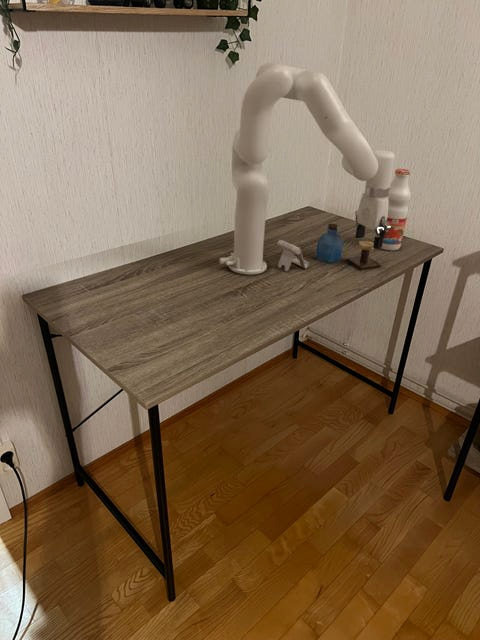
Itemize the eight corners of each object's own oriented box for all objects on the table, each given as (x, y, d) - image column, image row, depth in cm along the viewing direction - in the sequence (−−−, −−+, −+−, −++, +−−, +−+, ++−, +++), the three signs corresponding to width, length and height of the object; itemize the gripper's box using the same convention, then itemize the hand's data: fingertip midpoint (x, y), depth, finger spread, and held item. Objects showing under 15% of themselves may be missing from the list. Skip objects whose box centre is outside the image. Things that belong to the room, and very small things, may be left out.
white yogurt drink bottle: (399, 243, 187) (415, 168, 173) (401, 252, 179) (418, 174, 165) (374, 240, 189) (388, 165, 175) (374, 249, 181) (389, 171, 167)
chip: (364, 251, 162) (365, 247, 161) (355, 245, 166) (355, 241, 166) (377, 249, 164) (378, 245, 163) (367, 243, 168) (368, 240, 167)
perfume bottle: (315, 257, 171) (319, 224, 165) (326, 253, 175) (330, 221, 169) (330, 263, 167) (335, 229, 161) (340, 258, 171) (345, 225, 165)
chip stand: (360, 270, 164) (363, 253, 161) (346, 260, 170) (349, 244, 167) (380, 266, 166) (383, 250, 164) (365, 258, 173) (368, 242, 170)
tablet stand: (308, 268, 163) (311, 244, 159) (291, 273, 159) (294, 249, 154) (290, 259, 169) (292, 236, 164) (273, 264, 164) (275, 241, 160)
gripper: (350, 185, 161) (344, 235, 170) (384, 200, 148) (375, 253, 156) (369, 183, 164) (362, 232, 173) (404, 198, 150) (394, 250, 159)
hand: (368, 242), depth 164 cm, fingers open, 9 cm apart
